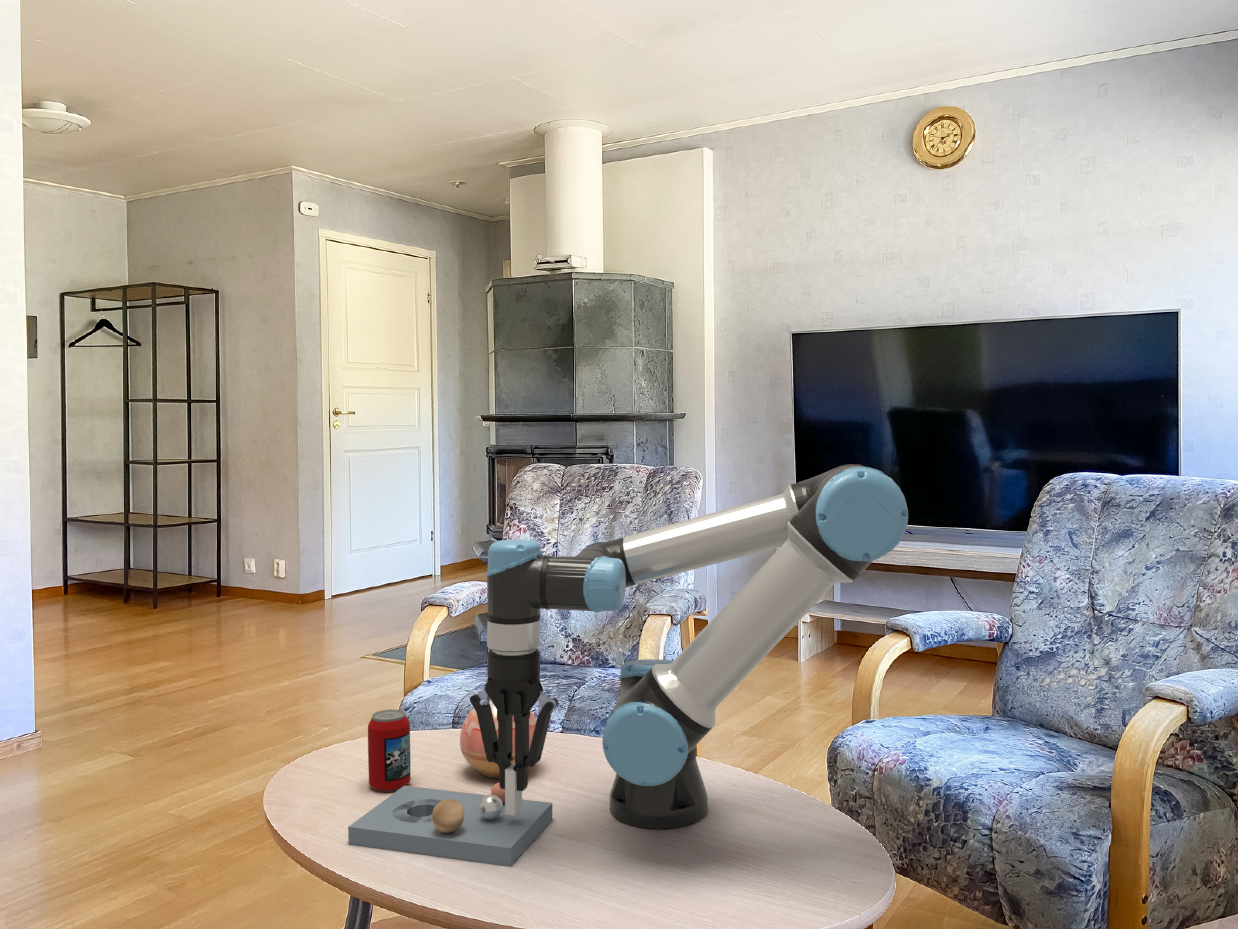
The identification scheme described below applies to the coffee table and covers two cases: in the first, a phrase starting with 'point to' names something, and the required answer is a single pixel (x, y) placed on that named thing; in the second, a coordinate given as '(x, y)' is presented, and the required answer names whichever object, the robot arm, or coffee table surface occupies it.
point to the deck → (477, 839)
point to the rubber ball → (498, 792)
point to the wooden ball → (448, 815)
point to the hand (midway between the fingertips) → (513, 811)
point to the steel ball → (490, 807)
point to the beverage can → (389, 750)
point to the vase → (474, 743)
